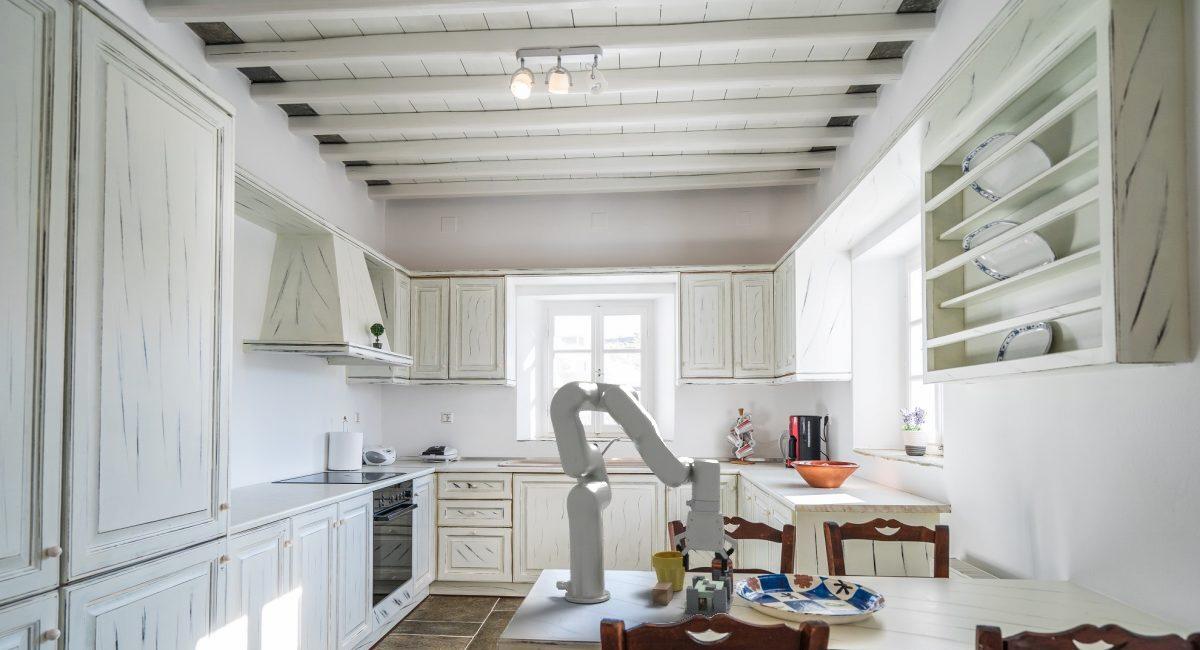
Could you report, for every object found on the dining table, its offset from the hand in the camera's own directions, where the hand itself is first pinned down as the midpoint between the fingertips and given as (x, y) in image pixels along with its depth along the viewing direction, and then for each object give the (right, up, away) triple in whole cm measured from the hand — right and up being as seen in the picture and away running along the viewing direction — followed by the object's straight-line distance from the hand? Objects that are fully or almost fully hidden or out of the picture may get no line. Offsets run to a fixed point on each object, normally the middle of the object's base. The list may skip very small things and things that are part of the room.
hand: (704, 571), depth 203 cm
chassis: (+1, -9, -1) cm, 9 cm away
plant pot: (-7, -11, +18) cm, 22 cm away
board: (+1, -5, -1) cm, 5 cm away
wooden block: (-11, -10, +5) cm, 15 cm away
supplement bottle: (+7, -10, +13) cm, 18 cm away
